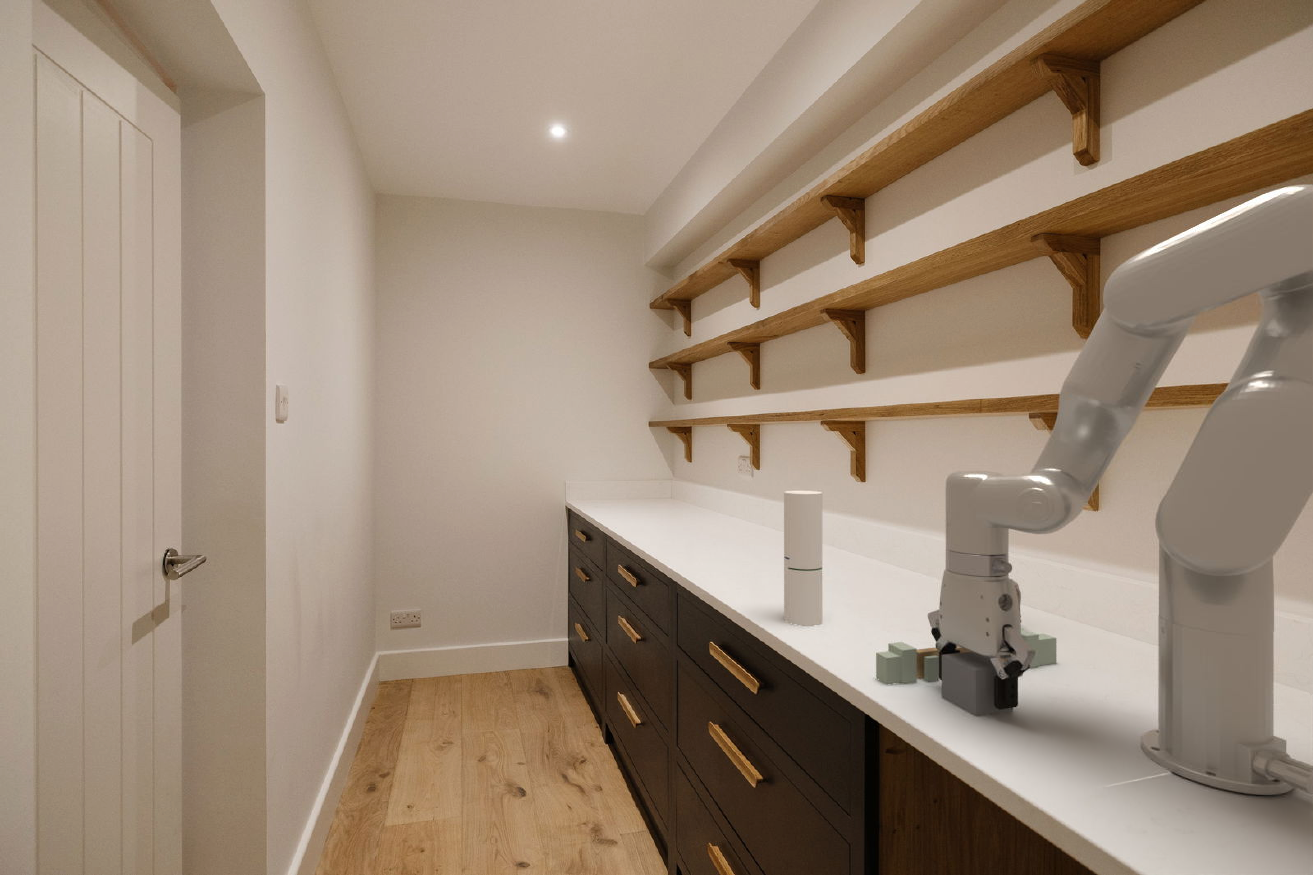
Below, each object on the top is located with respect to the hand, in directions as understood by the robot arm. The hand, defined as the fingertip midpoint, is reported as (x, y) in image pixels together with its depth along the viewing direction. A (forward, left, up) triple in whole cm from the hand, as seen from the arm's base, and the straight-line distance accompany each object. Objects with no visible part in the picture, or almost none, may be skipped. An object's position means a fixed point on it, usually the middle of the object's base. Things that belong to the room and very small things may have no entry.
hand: (976, 692), depth 86 cm
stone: (+28, -31, -2) cm, 42 cm away
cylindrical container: (+40, +3, -2) cm, 40 cm away
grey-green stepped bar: (+10, -16, -2) cm, 19 cm away
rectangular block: (0, 0, -2) cm, 2 cm away
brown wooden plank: (+10, -16, -2) cm, 19 cm away
